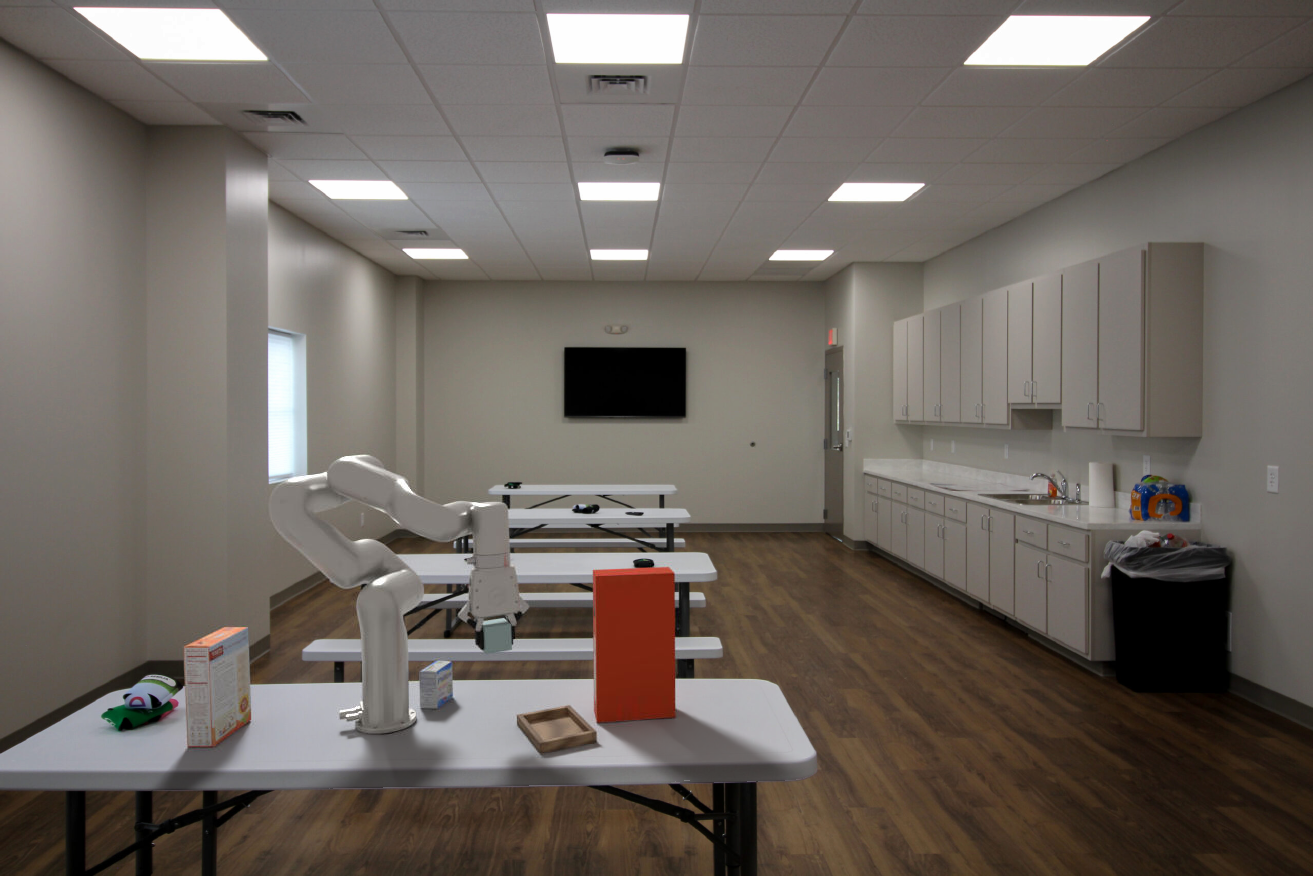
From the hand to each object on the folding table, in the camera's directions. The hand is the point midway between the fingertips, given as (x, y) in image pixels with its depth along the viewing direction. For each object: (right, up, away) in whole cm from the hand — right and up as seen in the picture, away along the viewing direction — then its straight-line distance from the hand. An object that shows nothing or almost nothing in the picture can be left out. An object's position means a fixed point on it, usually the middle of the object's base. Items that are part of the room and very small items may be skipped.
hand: (495, 644), depth 163 cm
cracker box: (-58, -18, -1) cm, 61 cm away
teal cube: (0, -1, 0) cm, 1 cm away
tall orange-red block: (+29, -18, +8) cm, 35 cm away
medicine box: (-17, -18, +16) cm, 29 cm away
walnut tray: (+13, -18, -2) cm, 22 cm away
